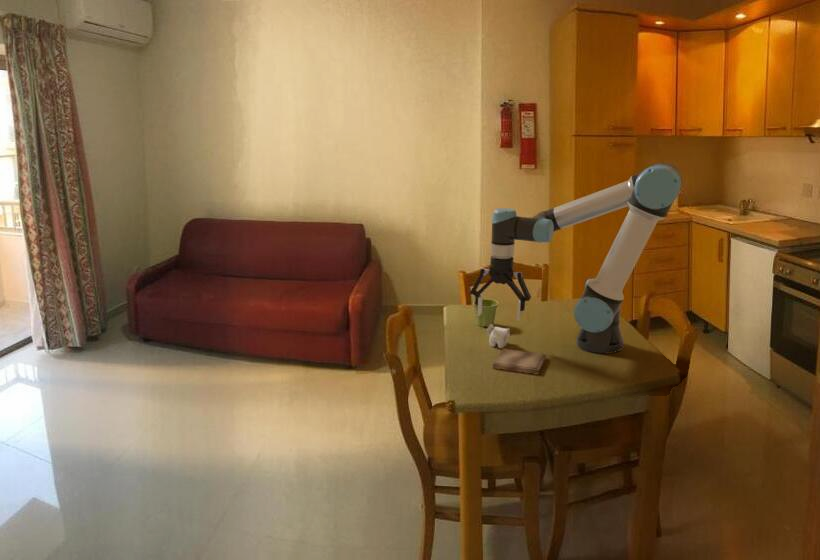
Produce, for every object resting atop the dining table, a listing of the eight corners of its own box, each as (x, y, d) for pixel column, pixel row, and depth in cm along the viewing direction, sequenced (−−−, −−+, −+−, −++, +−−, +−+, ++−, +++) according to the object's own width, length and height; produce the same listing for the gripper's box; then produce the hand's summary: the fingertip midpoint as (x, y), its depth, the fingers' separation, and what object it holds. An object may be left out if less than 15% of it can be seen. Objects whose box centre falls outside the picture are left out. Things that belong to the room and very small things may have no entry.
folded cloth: (546, 358, 203) (546, 353, 203) (538, 374, 191) (538, 369, 190) (503, 352, 208) (503, 348, 208) (492, 368, 196) (493, 363, 195)
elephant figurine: (515, 342, 218) (516, 323, 216) (503, 351, 210) (504, 331, 208) (495, 338, 222) (496, 319, 220) (483, 347, 214) (483, 327, 212)
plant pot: (485, 330, 230) (486, 307, 228) (467, 324, 237) (467, 302, 235) (503, 325, 236) (503, 302, 234) (484, 319, 243) (485, 297, 241)
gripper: (542, 257, 207) (538, 318, 212) (468, 250, 216) (466, 309, 221) (538, 262, 200) (533, 325, 206) (462, 254, 209) (460, 315, 214)
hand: (499, 317), depth 213 cm, fingers open, 13 cm apart
